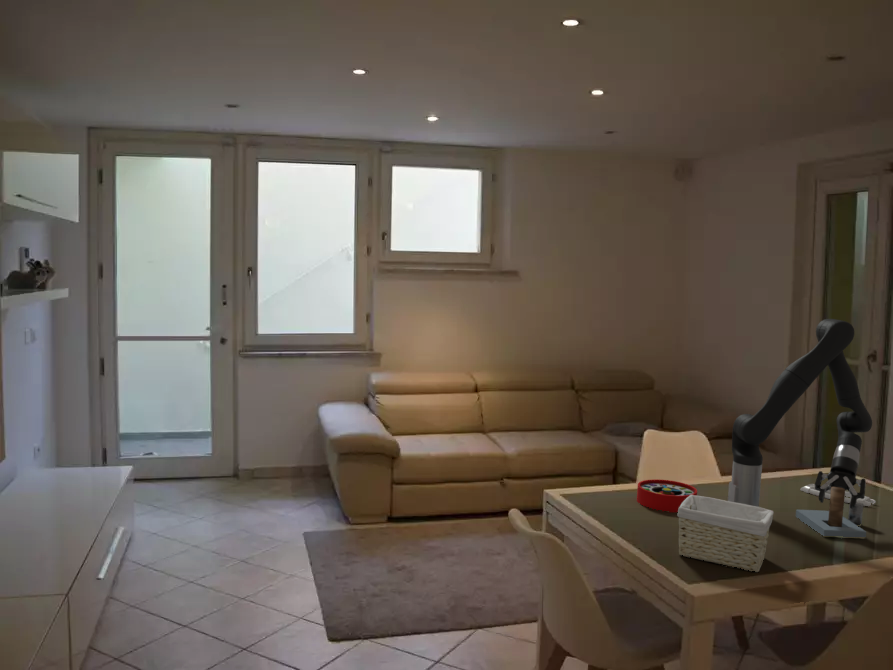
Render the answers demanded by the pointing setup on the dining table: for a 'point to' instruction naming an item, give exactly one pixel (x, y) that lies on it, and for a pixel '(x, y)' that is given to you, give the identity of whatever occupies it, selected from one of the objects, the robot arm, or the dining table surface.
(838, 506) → the long pin
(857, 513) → the short pin
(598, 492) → the dining table surface
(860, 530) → the hole board
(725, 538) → the storage basket
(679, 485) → the toy clock
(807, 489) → the door handle
